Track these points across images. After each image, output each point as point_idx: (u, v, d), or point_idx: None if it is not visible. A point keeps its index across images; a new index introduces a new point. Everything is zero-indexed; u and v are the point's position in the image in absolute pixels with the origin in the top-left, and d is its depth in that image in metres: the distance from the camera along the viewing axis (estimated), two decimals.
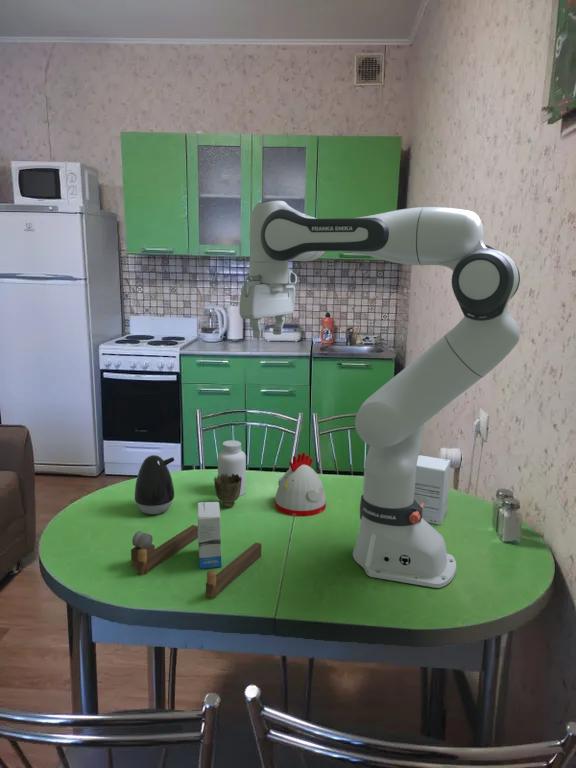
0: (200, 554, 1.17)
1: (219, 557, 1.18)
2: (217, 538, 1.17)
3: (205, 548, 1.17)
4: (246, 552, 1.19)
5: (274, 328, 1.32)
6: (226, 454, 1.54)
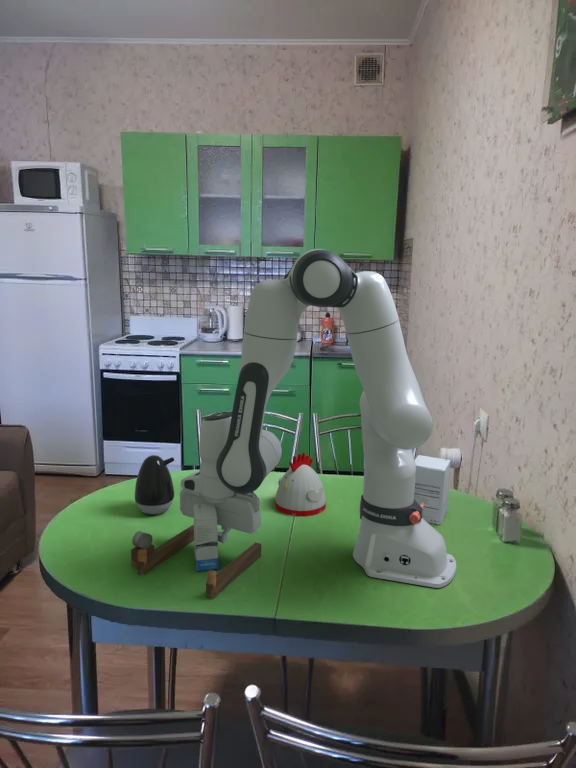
0: (197, 556, 1.16)
1: (216, 559, 1.17)
2: (214, 540, 1.16)
3: (202, 551, 1.16)
4: (246, 552, 1.19)
5: (218, 535, 1.25)
6: None
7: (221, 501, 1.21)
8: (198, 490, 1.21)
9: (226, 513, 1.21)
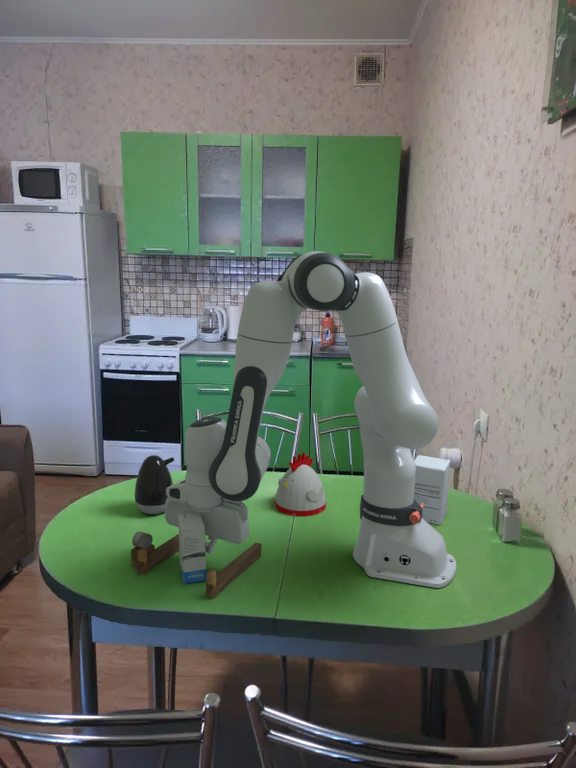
0: (184, 568, 1.11)
1: (204, 570, 1.13)
2: (202, 551, 1.12)
3: (189, 562, 1.11)
4: (246, 552, 1.19)
5: None
6: None
7: (208, 510, 1.16)
8: (184, 499, 1.17)
9: (213, 523, 1.17)
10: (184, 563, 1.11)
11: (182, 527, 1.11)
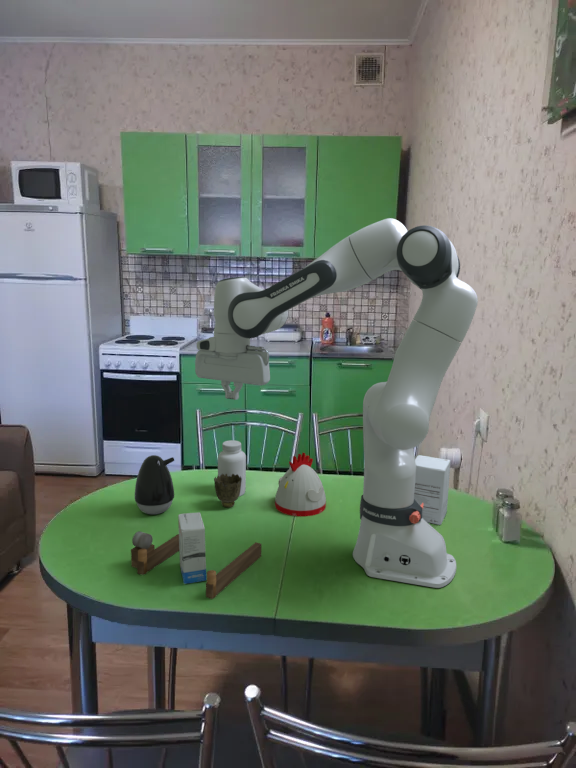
0: (184, 569, 1.11)
1: (204, 570, 1.13)
2: (202, 551, 1.12)
3: (189, 562, 1.11)
4: (246, 552, 1.19)
5: None
6: (226, 454, 1.54)
7: (234, 357, 1.33)
8: (213, 348, 1.34)
9: (238, 369, 1.34)
10: (184, 563, 1.11)
11: (182, 527, 1.11)
